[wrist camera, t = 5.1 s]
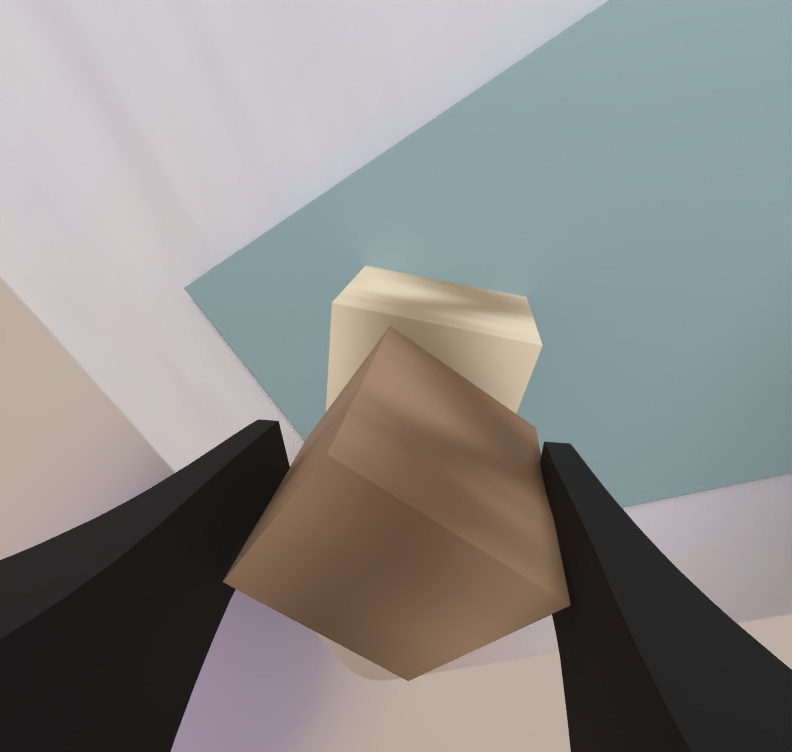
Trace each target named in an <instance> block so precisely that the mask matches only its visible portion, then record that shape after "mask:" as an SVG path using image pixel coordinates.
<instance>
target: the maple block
mask: <svg viewBox="0 0 792 752" xmlns="http://www.w3.org/2000/svg"><path fill="white" fill-rule="evenodd" d="M389 326H392V327H393V328H394V329H396V330H397V331H399V332H400V333H402V334H403V335H404V336H406V337H407V338H409V339H410V340H412V341H413V342H414V343H416V344H417V345H419V346H420V347H422V348H423V349H424V350H426V351H427V352H429V353H430V354H432V355H433V356H434V357H436V358H437V359H439V360H440V361H442V362H443V363H444V364H446V365H447V366H449V367H450V368H451V369H453V370H454V371H456V372H457V373H459V374H460V375H461V376H463V377H464V378H466V379H467V380H469V381H470V382H471V383H473V384H474V385H476V386H477V387H479V388H480V389H481V390H483V391H484V392H486V393H487V394H489V395H490V396H491V397H493V398H494V399H496V400H497V401H499V402H500V403H501V404H503V405H504V406H506V407H507V408H508V409H510V410H511V411H513V412H514V413H517V411H518V408H519V406H520V403H521V400H522V398H523V395H524V393H525V390H526V387H527V385H528V382H529V380H530V377H531V374H532V372H533V369H534V367H535V364H536V361H537V359H538V356H539V354H540V351H541V348H542V346H543V345H542V342H541V339H540V336H539V333H538V330H537V327H536V324H535V321H534V318H533V315H532V312H531V309H530V306H529V303H528V300H527V297H524V296H519V295H514V294H509V293H504V292H499V291H493V290H488V289H483V288H478V287H473V286H468V285H462V284H457V283H452V282H447V281H442V280H437V279H432V278H426V277H421V276H416V275H411V274H406V273H401V272H396V271H390V270H385V269H380V268H375V267H370V266H365V267H364V268H363V269H362V270H361V271H360V272H359V273H358V274H357V275H356V277H355V278H354V279H353V280H352V281H351V282H350V283H349V284H348V285H347V287H346V288H345V289H344V290H343V291H342V292H341V293H340V294H339V295H338V296H337V298H336V299H335V300H334V301H333V302H332V310H331V328H330V345H329V363H328V381H327V398H326V411H327V410H328V409H329V407H330V406H331V405H332V403H333V402H334V401H335V399H336V398H337V397H338V395H339V394H340V393H341V391H342V390H343V389H344V387H345V386H346V384H347V383H348V382H349V380H350V379H351V378H352V376H353V375H354V374H355V372H356V371H357V370H358V368H359V367H360V366H361V364H362V363H363V362H364V360H365V359H366V357H367V356H368V355H369V353H370V352H371V351H372V349H373V348H374V347H375V345H376V344H377V343H378V341H379V340H380V339H381V337H382V336H383V335H384V333H385V332H386V330H387V329H388V328H389Z"/></svg>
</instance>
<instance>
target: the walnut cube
mask: <svg viewBox="0 0 792 752" xmlns="http://www.w3.org/2000/svg"><path fill="white" fill-rule="evenodd" d="M540 460H541V451H540V446H539V441H538V436H537V431H536V427H534V426H533V425H531V424H530V423H528V422H527V421H526V420H524V419H523V418H521V417H520V416H518V415H517V414H516V413H514V412H513V411H511V410H510V409H508V408H507V407H506V406H504V405H503V404H501V403H500V402H499V401H497V400H496V399H494V398H493V397H491V396H490V395H489V394H487V393H486V392H484V391H483V390H481V389H480V388H479V387H477V386H476V385H474V384H473V383H471V382H470V381H469V380H467V379H466V378H464V377H463V376H461V375H460V374H459V373H457V372H456V371H454V370H453V369H451V368H450V367H449V366H447V365H446V364H444V363H443V362H442V361H440V360H439V359H437V358H436V357H434V356H433V355H432V354H430V353H429V352H427V351H426V350H424V349H423V348H422V347H420V346H419V345H417V344H416V343H414V342H413V341H412V340H410V339H409V338H407V337H406V336H404V335H403V334H402V333H400V332H399V331H397V330H396V329H394V328H393V327H392V326H389V328H388V329H387V330H386V332H385V333H384V335H383V336H382V337H381V339H380V340H379V341H378V343H377V344H376V345H375V347H374V348H373V349H372V351H371V352H370V353H369V355H368V356H367V357H366V359H365V360H364V362H363V363H362V364H361V366H360V367H359V368H358V370H357V371H356V372H355V374H354V375H353V376H352V378H351V379H350V380H349V382H348V383H347V384H346V386H345V387H344V389H343V390H342V391H341V393H340V394H339V395H338V397H337V398H336V399H335V401H334V402H333V403H332V405H331V406H330V407H329V409H328V410H327V411H326V413H325V414H324V416H323V417H322V418H321V420H320V421H319V422H318V424H317V425H316V426H315V428H314V429H313V430H312V432H311V433H310V434H309V436H308V437H307V439H306V441H305V442H304V444H303V446H302V447H301V449H300V451H299V453H298V454H297V456H296V458H295V459H294V461H293V463H292V465H291V466H290V469H289V470H288V472H287V474H286V475H285V477H284V479H283V481H282V482H281V484H280V486H279V487H278V489H277V491H276V493H275V494H274V496H273V498H272V499H271V501H270V503H269V504H268V506H267V508H266V509H265V511H264V513H263V514H262V516H261V518H260V519H259V521H258V523H257V524H256V526H255V528H254V529H253V531H252V533H251V534H250V536H249V538H248V540H247V541H246V543H245V545H244V546H243V548H242V550H241V552H240V553H239V555H238V557H237V558H236V560H235V562H234V563H233V565H232V567H231V569H230V570H229V572H228V574H227V575H226V577H225V579H224V581H223V582H224V583H226V584H227V585H229V586H231V587H233V588H235V589H237V590H239V591H241V592H243V593H244V594H246V595H248V596H250V597H252V598H254V599H256V600H258V601H259V602H261V603H263V604H265V605H267V606H269V607H271V608H272V609H274V610H276V611H278V612H280V613H282V614H284V615H286V616H287V617H289V618H291V619H293V620H295V621H297V622H299V623H301V624H302V625H304V626H306V627H308V628H310V629H312V630H314V631H316V632H317V633H319V634H321V635H323V636H325V637H327V638H329V639H330V640H332V641H334V642H336V643H338V644H340V645H342V646H344V647H345V648H347V649H349V650H351V651H353V652H355V653H357V654H359V655H360V656H362V657H364V658H366V659H368V660H370V661H372V662H374V663H375V664H377V665H379V666H381V667H383V668H385V669H387V670H389V671H390V672H392V673H394V674H396V675H398V676H400V677H402V678H404V679H405V680H407V681H409V680H411V679H414V678H416V677H418V676H420V675H422V674H424V673H426V672H429V671H431V670H433V669H435V668H437V667H439V666H442V665H444V664H446V663H448V662H450V661H452V660H454V659H457V658H459V657H461V656H463V655H465V654H467V653H469V652H472V651H474V650H476V649H478V648H480V647H482V646H484V645H487V644H489V643H491V642H493V641H495V640H497V639H500V638H502V637H504V636H506V635H508V634H510V633H512V632H515V631H517V630H519V629H521V628H523V627H525V626H527V625H530V624H532V623H534V622H536V621H538V620H540V619H543V618H545V617H547V616H549V615H551V614H553V613H555V612H558V611H560V610H562V609H564V608H566V607H568V606H570V605H571V604H570V599H569V594H568V589H567V584H566V579H565V573H564V568H563V563H562V558H561V553H560V548H559V543H558V538H557V533H556V528H555V523H554V519H553V515H552V512H551V508H550V505H549V501H548V498H547V494H546V490H545V485H544V480H543V475H542V470H541V465H540Z"/></svg>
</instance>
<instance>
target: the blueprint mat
mask: <svg viewBox="0 0 792 752" xmlns="http://www.w3.org/2000/svg"><path fill="white" fill-rule="evenodd" d="M365 266H370V267H375V268H380V269H385V270H390V271H396V272H401V273H406V274H411V275H416V276H421V277H426V278H432V279H437V280H442V281H447V282H452V283H457V284H462V285H468V286H473V287H478V288H483V289H488V290H493V291H499V292H504V293H509V294H514V295H519V296H524V297H527V300H528V303H529V306H530V309H531V312H532V315H533V318H534V321H535V324H536V327H537V330H538V333H539V336H540V339H541V342H542V345H543V346H542V348H541V351H540V354H539V356H538V359H537V361H536V364H535V367H534V369H533V372H532V374H531V377H530V380H529V382H528V385H527V387H526V390H525V393H524V395H523V398H522V400H521V403H520V406H519V408H518V411H517V413H516V414H517V415H518V416H520V417H521V418H523V419H524V420H526V421H527V422H528V423H530V424H531V425H533V426H534V427H536V431H537V436H538V441H539V446H540V451H541V454H542V449H543V444H544V441H545V442H558V443H570V444H571V445H572V446H573V447H574V448H575V450H576V451H577V452H578V454H579V455H580V456H581V458H582V459H583V460H584V461H585V463H586V464H587V465H588V467H589V468H590V469H591V471H592V472H593V473H594V474H595V476H596V477H597V478H598V480H599V481H600V482H601V483H602V485H603V486H604V487H605V488H606V490H607V491H608V492H609V493H610V495H611V496H612V497H613V498H614V499H615V501H616V502H617V503H618V504H619V505H620V506H621V508H623V507H628V506H633V505H638V504H643V503H647V502H652V501H657V500H662V499H667V498H672V497H677V496H681V495H686V494H691V493H696V492H701V491H706V490H711V489H715V488H720V487H725V486H730V485H735V484H740V483H745V482H749V481H754V480H759V479H764V478H769V477H774V476H778V475H783V474H788V473H792V0H609V1H607V2H606V3H604V4H603V5H602V6H600V7H599V8H597V9H596V10H594V11H593V12H591V13H590V14H588V15H587V16H585V17H584V18H582V19H581V20H579V21H578V22H576V23H575V24H573V25H572V26H570V27H569V28H568V29H566V30H565V31H563V32H562V33H560V34H559V35H557V36H556V37H554V38H553V39H551V40H550V41H548V42H547V43H545V44H544V45H542V46H541V47H539V48H538V49H536V50H535V51H534V52H532V53H531V54H529V55H528V56H526V57H525V58H523V59H522V60H520V61H519V62H517V63H516V64H514V65H513V66H511V67H510V68H508V69H507V70H505V71H504V72H503V73H501V74H500V75H498V76H497V77H495V78H494V79H492V80H491V81H489V82H488V83H486V84H485V85H483V86H482V87H480V88H479V89H477V90H476V91H474V92H473V93H471V94H470V95H469V96H467V97H466V98H464V99H463V100H461V101H460V102H458V103H457V104H455V105H454V106H452V107H451V108H449V109H448V110H446V111H445V112H443V113H442V114H440V115H439V116H437V117H436V118H435V119H433V120H432V121H430V122H429V123H427V124H426V125H424V126H423V127H421V128H420V129H418V130H417V131H415V132H414V133H412V134H411V135H409V136H408V137H406V138H405V139H403V140H402V141H401V142H399V143H398V144H396V145H395V146H393V147H392V148H390V149H389V150H387V151H386V152H384V153H383V154H381V155H380V156H378V157H377V158H375V159H374V160H372V161H371V162H370V163H368V164H367V165H365V166H364V167H362V168H361V169H359V170H358V171H356V172H355V173H353V174H352V175H350V176H349V177H347V178H346V179H344V180H343V181H341V182H340V183H338V184H337V185H336V186H334V187H333V188H331V189H330V190H328V191H327V192H325V193H324V194H322V195H321V196H319V197H318V198H316V199H315V200H313V201H312V202H310V203H309V204H307V205H306V206H304V207H303V208H302V209H300V210H299V211H297V212H296V213H294V214H293V215H291V216H290V217H288V218H287V219H285V220H284V221H282V222H281V223H279V224H278V225H276V226H275V227H273V228H272V229H271V230H269V231H268V232H266V233H265V234H263V235H262V236H260V237H259V238H257V239H256V240H254V241H253V242H251V243H250V244H248V245H247V246H245V247H244V248H242V249H241V250H239V251H238V252H237V253H235V254H234V255H232V256H231V257H229V258H228V259H226V260H225V261H223V262H222V263H220V264H219V265H217V266H216V267H214V268H213V269H211V270H210V271H208V272H207V273H205V274H204V275H203V276H201V277H200V278H198V279H197V280H195V281H194V282H192V283H191V284H189V285H188V286H186V287H185V288H184V289H185V290H186V291H187V293H188V294H189V295H190V297H191V298H192V299H193V300H194V302H195V303H196V304H197V305H198V307H199V308H200V309H201V310H202V312H203V313H204V314H205V316H206V317H207V318H208V319H209V321H210V322H211V323H212V324H213V326H214V327H215V328H216V329H217V331H218V332H219V333H220V334H221V336H222V337H223V338H224V340H225V341H226V342H227V343H228V345H229V346H230V347H231V348H232V350H233V351H234V352H235V353H236V355H237V356H238V357H239V358H240V360H241V361H242V362H243V364H244V365H245V366H246V367H247V369H248V370H249V371H250V372H251V374H252V375H253V376H254V377H255V379H256V380H257V381H258V382H259V384H260V385H261V386H262V388H263V389H264V390H265V391H266V393H267V394H268V395H269V396H270V398H271V399H272V400H273V401H274V403H275V404H276V405H277V406H278V408H279V409H280V410H281V412H282V413H283V414H284V415H285V417H286V418H287V419H288V420H289V422H290V423H291V424H292V425H293V427H294V428H295V429H296V430H297V432H298V433H299V434H300V436H301V437H302V438H303V439H304V441H306V439H307V437H308V436H309V434H310V433H311V432H312V430H313V429H314V428H315V426H316V425H317V424H318V422H319V421H320V420H321V418H322V417H323V416H324V414H325V413H326V398H327V381H328V363H329V345H330V328H331V310H332V302H333V301H334V300H335V299H336V298H337V296H338V295H339V294H340V293H341V292H342V291H343V290H344V289H345V288H346V287H347V285H348V284H349V283H350V282H351V281H352V280H353V279H354V278H355V277H356V275H357V274H358V273H359V272H360V271H361V270H362V269H363V268H364V267H365Z"/></svg>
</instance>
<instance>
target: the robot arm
mask: <svg viewBox="0 0 792 752" xmlns="http://www.w3.org/2000/svg"><path fill="white" fill-rule="evenodd" d="M540 465H541V470H542V475H543V480H544V485H545V490H546V494H547V498H548V501H549V505H550V508H551V512H552V515H553V519H554V523H555V528H556V533H557V538H558V543H559V548H560V553H561V558H562V563H563V568H564V573H565V579H566V584H567V589H568V594H569V599H570V604H571V605H570V606H568V607H566V608H564V609H562V610H560V611H558V612H555V613H553V614H552V617H553V621H554V626H555V631H556V636H557V642H558V647H559V653H560V660H561V668H562V677H563V684H564V693H565V702H566V710H567V718H568V719H567V720H568V728H569V738H570V747H571V752H792V670H791V669H790V668H789V667H787V666H786V665H785V664H784V663H783V662H782V661H780V660H779V659H778V658H777V657H776V656H774V655H773V654H772V653H771V652H770V651H769V650H767V649H766V648H765V647H764V646H763V645H761V644H760V643H759V642H758V641H757V640H756V639H754V638H753V637H752V636H751V635H749V634H748V633H747V632H746V631H745V630H744V629H742V628H741V627H740V626H739V625H738V624H737V623H736V622H734V621H733V620H732V619H731V618H730V617H729V616H728V615H727V614H725V613H724V612H723V611H722V610H721V609H720V608H719V607H718V606H716V605H715V604H714V603H713V602H712V601H711V600H710V599H709V598H708V597H707V596H706V595H705V594H704V593H703V592H701V591H700V590H699V589H698V588H697V587H696V586H695V585H694V584H693V583H692V582H691V581H690V580H689V579H688V578H687V577H686V576H685V575H684V574H682V573H681V572H680V571H679V570H678V569H677V568H676V567H675V566H674V565H673V564H672V563H671V562H670V561H669V559H668V558H667V557H666V556H665V555H664V554H663V553H662V552H661V551H660V550H659V549H658V548H657V547H656V546H655V545H654V544H653V543H652V541H651V540H650V539H649V538H648V537H647V536H646V535H645V534H644V533H643V532H642V531H641V530H640V528H639V527H638V526H637V525H636V524H635V523H634V522H633V521H632V519H631V518H630V517H629V516H628V515H627V513H626V512H625V511H624V510H623V509H622V508H621V506H620V505H619V504H618V503H617V502H616V501H615V499H614V498H613V497H612V496H611V495H610V493H609V492H608V491H607V490H606V488H605V487H604V486H603V485H602V483H601V482H600V481H599V480H598V478H597V477H596V476H595V474H594V473H593V472H592V471H591V469H590V468H589V467H588V465H587V464H586V463H585V461H584V460H583V459H582V458H581V456H580V455H579V454H578V452H577V451H576V450H575V448H574V447H573V446H572V445H571V444H570V443H558V442H545V441H544V444H543V449H542V454H541V460H540ZM289 469H290V466H289V462H288V458H287V454H286V450H285V446H284V441H283V437H282V433H281V429H280V425H279V421H271V420H257V421H255V422H253V423H252V424H250V425H248V426H247V427H245V428H244V429H242V430H241V431H239V432H237V433H236V434H234V435H233V436H231V437H230V438H228V439H227V440H225V441H224V442H222V443H221V444H219V445H218V446H216V447H215V448H213V449H212V450H210V451H209V452H207V453H206V454H204V455H203V456H201V457H200V458H198V459H197V460H195V461H194V462H192V463H191V464H189V465H188V466H186V467H184V468H183V469H181V470H179V471H178V472H176V473H175V474H173V475H171V476H170V477H168V478H166V479H165V480H163V481H162V482H160V483H158V484H157V485H155V486H153V487H152V488H150V489H148V490H147V491H145V492H143V493H141V494H140V495H138V496H136V497H134V498H132V499H131V500H129V501H127V502H125V503H123V504H121V505H119V506H118V507H116V508H114V509H112V510H110V511H108V512H107V513H104V514H102V515H100V516H98V517H96V518H95V519H92V520H90V521H88V522H86V523H84V524H82V525H80V526H77V527H76V528H73V529H71V530H69V531H67V532H64V533H62V534H60V535H58V536H56V537H54V538H51V539H50V540H47V541H45V542H43V543H41V544H38V545H36V546H34V547H31V548H29V549H27V550H24V551H22V552H19V553H17V554H15V555H13V556H10V557H7V558H5V559H2V560H0V752H170V751H171V748H172V745H173V742H174V739H175V737H176V734H177V731H178V729H179V726H180V723H181V720H182V718H183V715H184V712H185V709H186V707H187V704H188V702H189V699H190V696H191V693H192V691H193V688H194V685H195V683H196V680H197V677H198V675H199V673H200V670H201V667H202V665H203V663H204V660H205V658H206V655H207V653H208V651H209V648H210V646H211V643H212V641H213V638H214V636H215V633H216V631H217V629H218V627H219V624H220V622H221V620H222V617H223V615H224V613H225V611H226V608H227V606H228V604H229V601H230V599H231V597H232V595H233V593H234V591H235V588H233V587H231V586H229V585H227V584H226V583H224V582H223V581H224V579H225V577H226V575H227V574H228V572H229V570H230V569H231V567H232V565H233V563H234V562H235V560H236V558H237V557H238V555H239V553H240V552H241V550H242V548H243V546H244V545H245V543H246V541H247V540H248V538H249V536H250V534H251V533H252V531H253V529H254V528H255V526H256V524H257V523H258V521H259V519H260V518H261V516H262V514H263V513H264V511H265V509H266V508H267V506H268V504H269V503H270V501H271V499H272V498H273V496H274V494H275V493H276V491H277V489H278V487H279V486H280V484H281V482H282V481H283V479H284V477H285V475H286V474H287V472H288V470H289Z"/></svg>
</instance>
